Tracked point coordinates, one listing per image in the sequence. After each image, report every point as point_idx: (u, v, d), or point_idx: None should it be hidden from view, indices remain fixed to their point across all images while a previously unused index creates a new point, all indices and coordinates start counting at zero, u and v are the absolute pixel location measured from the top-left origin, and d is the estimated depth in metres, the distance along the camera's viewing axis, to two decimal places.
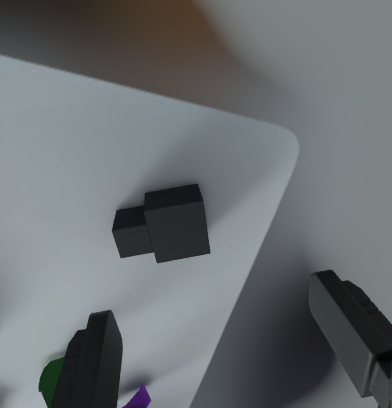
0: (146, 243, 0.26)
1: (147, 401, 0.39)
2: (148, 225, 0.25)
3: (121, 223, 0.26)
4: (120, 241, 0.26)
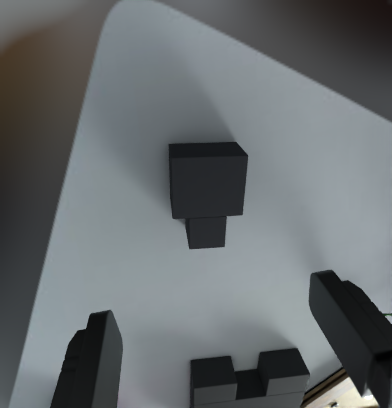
0: (213, 221, 0.24)
1: None
2: (191, 217, 0.23)
3: (188, 235, 0.25)
4: (203, 244, 0.25)
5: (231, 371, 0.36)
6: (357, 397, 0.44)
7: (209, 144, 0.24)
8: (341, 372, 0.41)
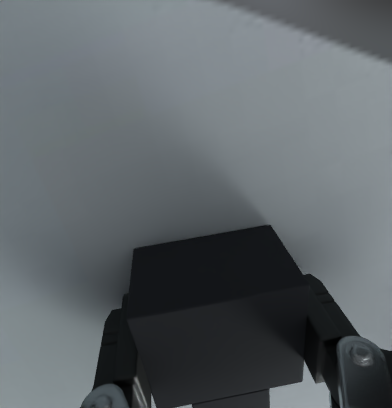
0: (242, 401, 0.11)
1: None
2: (195, 402, 0.11)
3: None
4: None
5: None
6: None
7: (216, 241, 0.11)
8: None
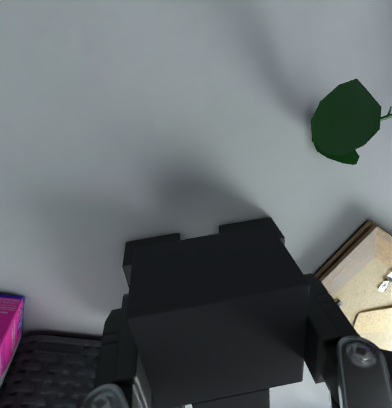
0: (242, 400, 0.11)
1: None
2: (195, 401, 0.11)
3: None
4: None
5: None
6: (367, 291, 0.34)
7: (216, 241, 0.11)
8: (338, 253, 0.31)
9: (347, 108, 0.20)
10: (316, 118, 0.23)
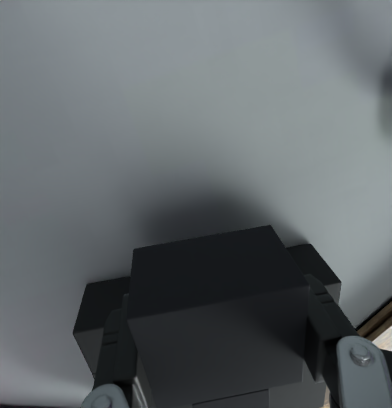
0: (242, 401, 0.11)
1: None
2: (195, 402, 0.11)
3: None
4: None
5: None
6: None
7: (216, 241, 0.11)
8: None
9: None
10: None
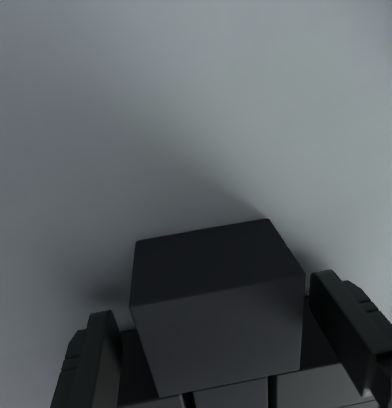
0: (241, 388, 0.12)
1: None
2: (195, 389, 0.11)
3: None
4: None
5: None
6: None
7: (215, 234, 0.12)
8: None
9: None
10: None
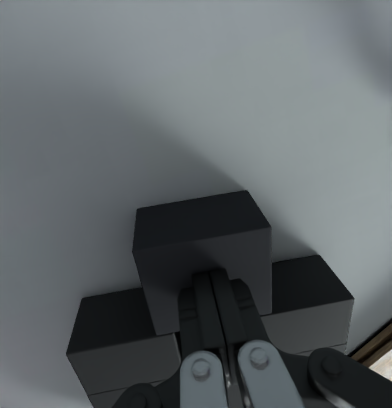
0: None
1: None
2: None
3: None
4: None
5: None
6: None
7: (202, 202, 0.14)
8: None
9: None
10: None
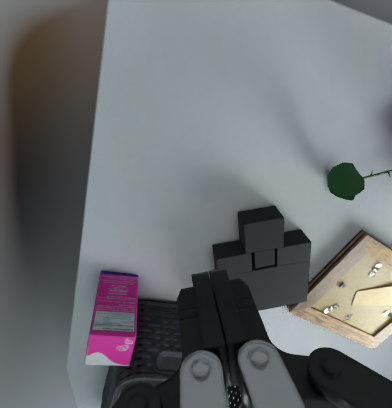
0: (267, 252, 0.43)
1: None
2: (255, 251, 0.42)
3: (253, 260, 0.44)
4: (263, 264, 0.44)
5: None
6: (361, 276, 0.51)
7: (260, 209, 0.43)
8: (343, 251, 0.48)
9: (348, 173, 0.37)
10: (330, 174, 0.40)
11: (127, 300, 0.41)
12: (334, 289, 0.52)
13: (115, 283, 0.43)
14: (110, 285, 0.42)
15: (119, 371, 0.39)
